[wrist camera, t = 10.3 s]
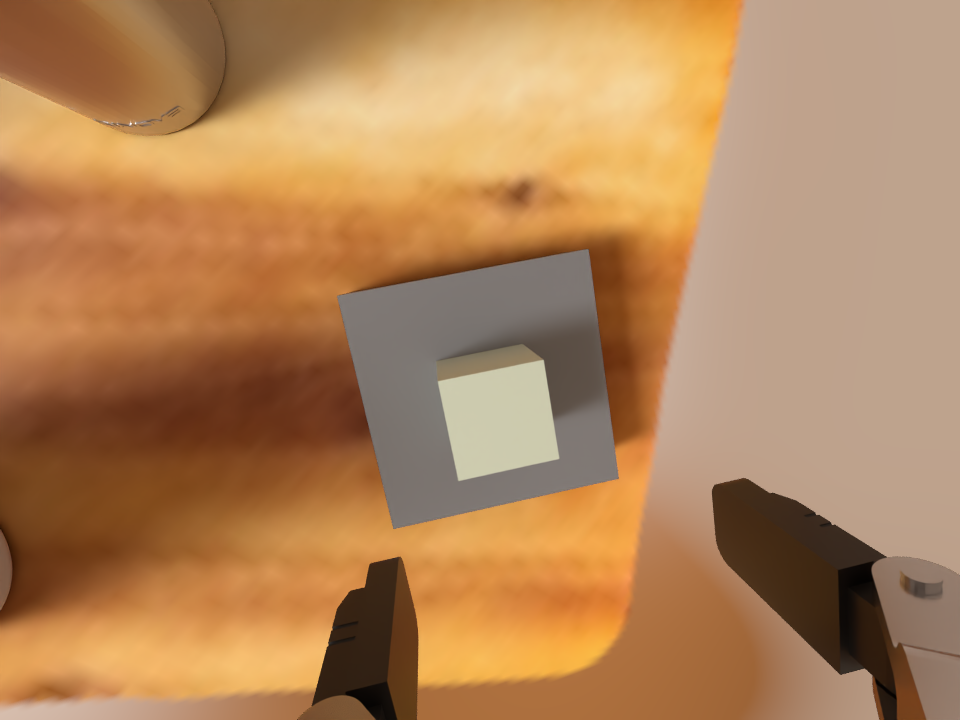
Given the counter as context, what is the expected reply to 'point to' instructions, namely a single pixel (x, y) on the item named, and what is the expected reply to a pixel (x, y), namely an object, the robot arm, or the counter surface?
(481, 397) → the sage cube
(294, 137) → the counter surface
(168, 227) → the counter surface
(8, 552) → the cylinder vase
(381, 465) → the plinth
